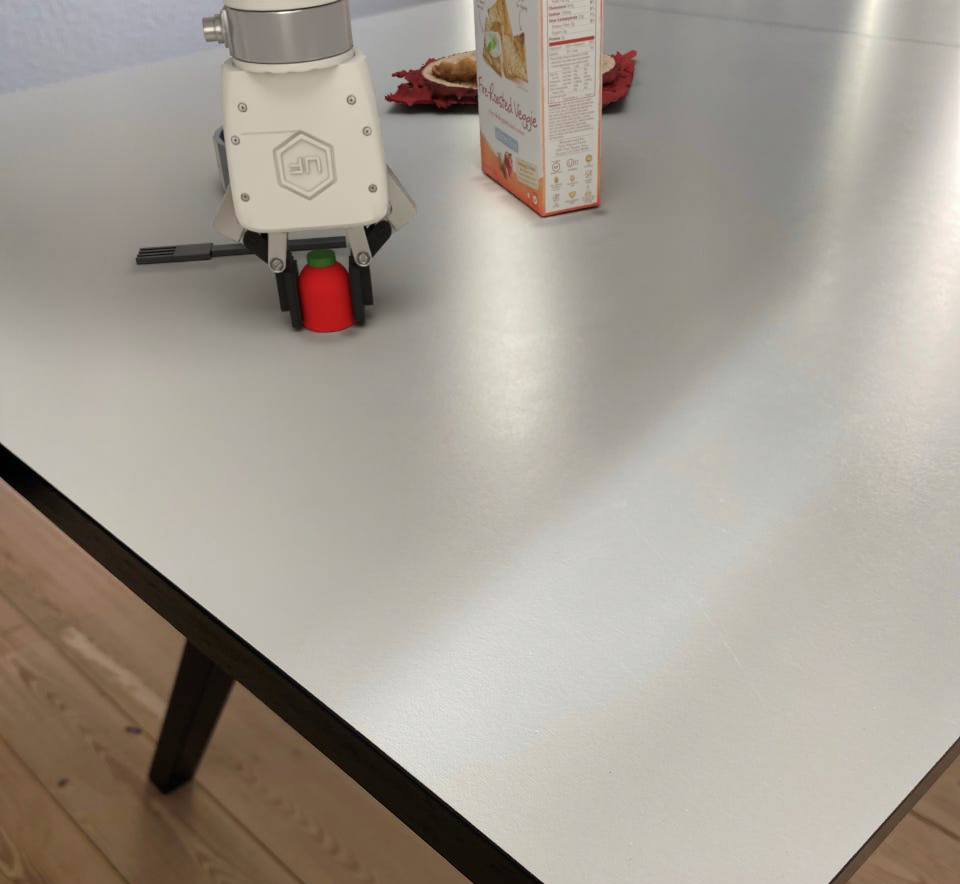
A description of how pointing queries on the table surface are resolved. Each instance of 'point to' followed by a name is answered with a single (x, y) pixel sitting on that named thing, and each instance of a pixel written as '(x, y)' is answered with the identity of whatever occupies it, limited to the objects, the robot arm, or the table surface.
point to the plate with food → (459, 78)
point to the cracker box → (541, 99)
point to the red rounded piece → (325, 293)
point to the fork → (224, 250)
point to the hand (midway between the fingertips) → (329, 314)
